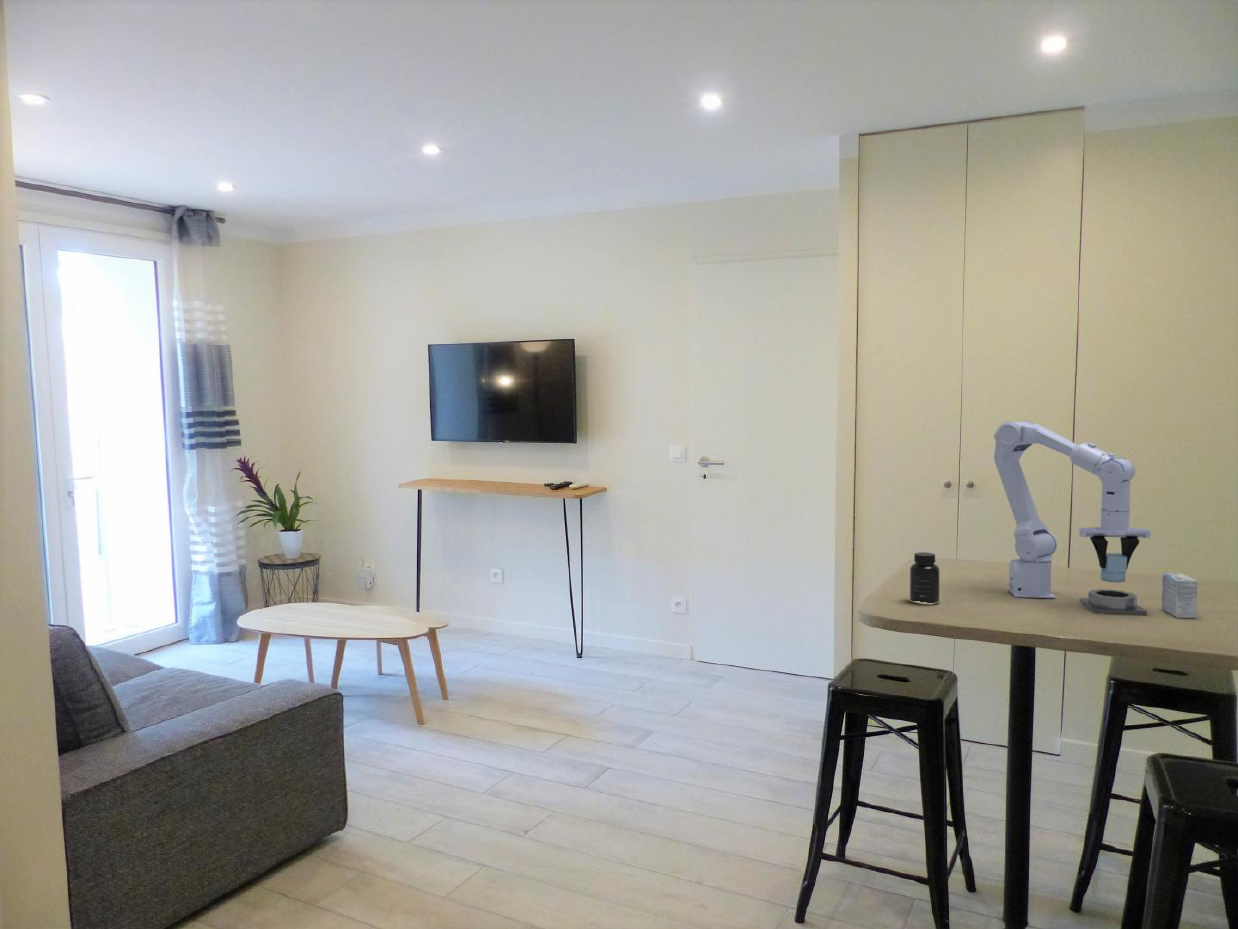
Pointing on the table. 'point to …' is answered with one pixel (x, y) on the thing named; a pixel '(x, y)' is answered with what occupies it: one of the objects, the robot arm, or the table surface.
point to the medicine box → (1179, 595)
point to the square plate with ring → (1112, 602)
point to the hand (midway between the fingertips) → (1113, 567)
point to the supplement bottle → (924, 578)
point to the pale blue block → (1114, 568)
